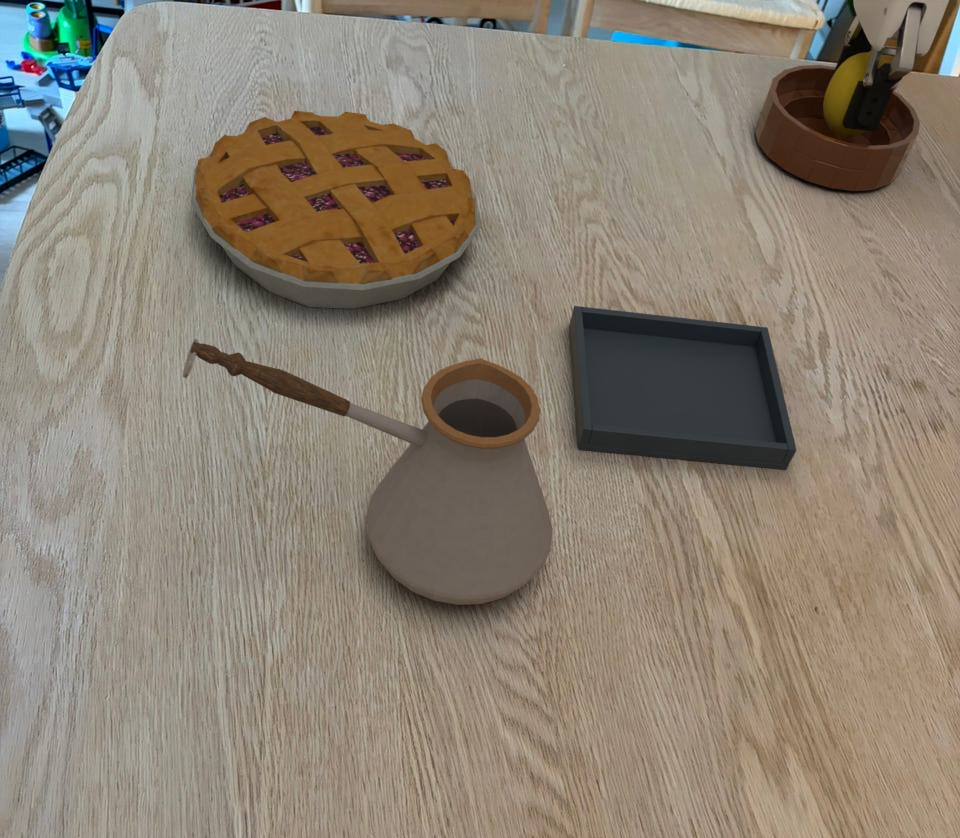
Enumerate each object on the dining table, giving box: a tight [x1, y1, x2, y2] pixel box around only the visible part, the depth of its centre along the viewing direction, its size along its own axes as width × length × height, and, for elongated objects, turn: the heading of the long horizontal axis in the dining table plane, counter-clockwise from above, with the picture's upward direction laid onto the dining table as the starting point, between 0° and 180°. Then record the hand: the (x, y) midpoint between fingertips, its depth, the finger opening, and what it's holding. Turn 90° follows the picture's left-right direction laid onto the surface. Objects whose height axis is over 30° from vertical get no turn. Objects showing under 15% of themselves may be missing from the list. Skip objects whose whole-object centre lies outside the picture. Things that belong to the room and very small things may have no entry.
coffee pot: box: [182, 338, 553, 606], centre depth 61 cm, size 21×12×15 cm, turn 91°
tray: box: [568, 305, 797, 471], centre depth 78 cm, size 15×13×2 cm
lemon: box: [823, 51, 887, 139], centre depth 97 cm, size 6×6×8 cm
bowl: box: [754, 64, 921, 192], centre depth 100 cm, size 14×14×4 cm
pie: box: [190, 110, 481, 310], centre depth 83 cm, size 22×22×5 cm
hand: (852, 107), depth 98 cm, fingers closed on lemon, 5 cm apart
